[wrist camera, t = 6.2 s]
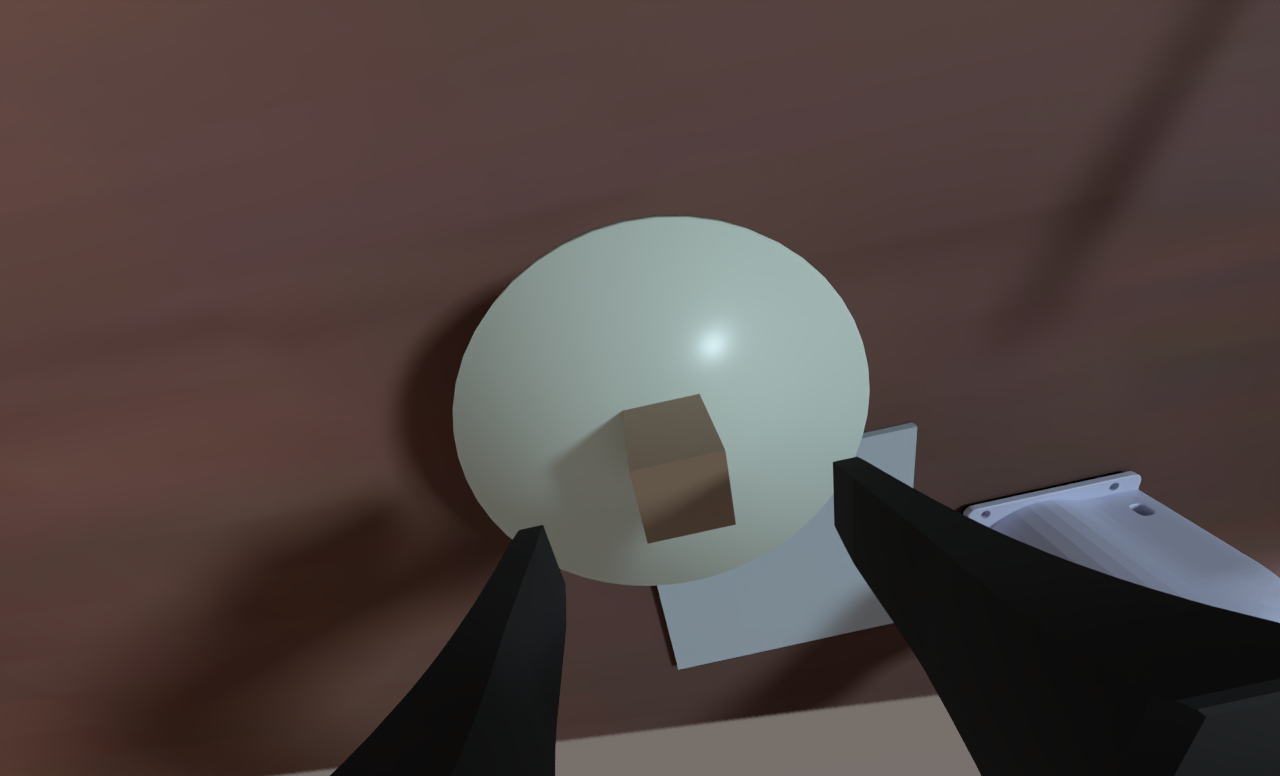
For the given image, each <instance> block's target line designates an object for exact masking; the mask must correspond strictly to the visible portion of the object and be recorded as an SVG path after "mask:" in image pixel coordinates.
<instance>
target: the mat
mask: <svg viewBox="0 0 1280 776" xmlns="http://www.w3.org/2000/svg"><path fill="white" fill-rule="evenodd" d="M916 437H917V426H916V425H915V424H914V423H907V424H902V425H898V426H893V427H889V428H884V429H880V430H875V431H870V432H866V433H863V436H862V439H861V442H860V445H859V447H858V450H857V453H856V455H855V457H859V458H861V459H863V460H865V461H867V462H868V463H870V464H872V465H874V466H875V467H877V468H879V469H881V470H882V471H884V472H886V473H888V474H889V475H891V476H893V477H894V478H896V479H898V480H900V481H901V482H903V483H905V484H907V485H908V486H910V487H912V488H913V481H914V466H915V452H916ZM657 588H658V591H659V595H660V599H661V603H662V607H663V611H664V615H665V619H666V623H667V627H668V631H669V634H670V638H671V642H672V646H673V650H674V654H675V658H676V662H677V666H678V670H679V669H683V668H688V667H693V666H697V665H702V664H707V663H711V662H716V661H720V660H725V659H730V658H734V657H739V656H743V655H748V654H753V653H757V652H762V651H767V650H771V649H776V648H780V647H785V646H790V645H794V644H799V643H803V642H808V641H813V640H817V639H822V638H827V637H831V636H836V635H840V634H845V633H850V632H854V631H859V630H864V629H868V628H873V627H877V626H882V625H887V624H891V623H893V621H892V620H891V618H890V617H889V615H888V614H887V612H886V611H885V609H884V608H883V606H882V605H881V603H880V602H879V601H878V599H877V598H876V596H875V595H874V593H873V592H872V590H871V589H870V587H869V586H868V584H867V583H866V581H865V580H864V578H863V577H862V575H861V574H860V572H859V571H858V569H857V568H856V566H855V565H854V563H853V561H852V559H851V558H850V556H849V554H848V552H847V550H846V548H845V546H844V544H843V542H842V540H841V538H840V536H839V534H838V532H837V530H836V528H835V526H834V494H833V495H832V497H831V498H830V499H829V500H828V501H827V503H826V504H825V505H824V506H823V507H822V508H821V510H820V511H819V512H818V513H817V514H816V515H815V516H814V517H813V518H812V519H811V520H810V521H809V522H808V523H807V524H806V525H805V526H803V527H802V528H801V529H800V530H799V531H798V532H797V533H795V534H794V535H793V536H791V537H790V538H789V539H787V540H786V541H785V542H783V543H782V544H781V545H779V546H777V547H776V548H774V549H773V550H771V551H769V552H768V553H766V554H764V555H763V556H761V557H759V558H757V559H755V560H753V561H751V562H749V563H747V564H745V565H742V566H740V567H738V568H735V569H732V570H730V571H727V572H724V573H722V574H719V575H715V576H711V577H708V578H704V579H700V580H696V581H690V582H684V583H678V584H670V585H657Z"/></svg>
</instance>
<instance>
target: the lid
mask: <svg viewBox="0 0 1280 776" xmlns="http://www.w3.org/2000/svg"><path fill="white" fill-rule="evenodd" d="M869 392H870V390H869V373H868V364H867V359H866V355H865V350H864V345H863V342H862V339H861V337H860V334H859V332H858V329H857V326H856V324H855V321H854V319H853V317H852V316H851V314H850V312H849V310H848V309H847V307H846V305H845V304H844V302H843V300H842V298H841V297H840V296H839V295H838V293H837V292H836V291H835V290H834V288H833V287H832V286H831V285H830V284H829V282H828V281H827V280H826V279H825V277H824V276H822V275H821V274H820V273H819V272H818V271H817V270H816V269H815V268H813V267H812V266H811V265H810V264H809V263H808V262H807V261H806V260H804V259H803V258H802V257H800V256H799V255H797V254H795V253H794V252H792V251H791V250H789V249H788V248H786V247H785V246H783V245H781V244H780V243H778V242H776V241H774V240H772V239H769V238H767V237H765V236H763V235H760V234H758V233H756V232H754V231H752V230H749V229H747V228H745V227H742V226H738V225H735V224H731V223H728V222H724V221H721V220H717V219H711V218H704V217H696V216H689V215H653V216H646V217H639V218H633V219H626V220H621V221H618V222H614V223H611V224H607V225H604V226H601V227H597V228H594V229H591V230H589V231H587V232H584V233H582V234H580V235H578V236H576V237H573V238H571V239H569V240H567V241H565V242H563V243H561V244H560V245H558V246H556V247H555V248H553V249H552V250H550V251H548V252H547V253H545V254H544V255H542V256H541V257H539V258H538V259H536V260H535V261H534V262H533V263H532V264H530V265H529V266H528V267H527V268H526V269H525V270H523V271H522V272H521V273H520V274H519V275H517V276H516V277H515V278H514V279H513V280H512V282H511V283H510V284H509V285H508V286H507V287H506V288H505V289H504V291H503V292H502V293H501V294H500V295H499V296H498V297H497V298H496V300H495V301H494V303H493V304H492V306H491V307H490V309H489V310H488V312H487V313H486V315H485V316H484V318H483V319H482V321H481V322H480V324H479V325H478V327H477V329H476V330H475V332H474V334H473V336H472V338H471V341H470V343H469V345H468V347H467V349H466V351H465V354H464V356H463V359H462V362H461V366H460V369H459V373H458V377H457V380H456V385H455V393H454V401H453V432H454V438H455V443H456V449H457V454H458V458H459V461H460V464H461V467H462V469H463V472H464V475H465V478H466V480H467V482H468V484H469V486H470V488H471V490H472V491H473V493H474V495H475V497H476V499H477V501H478V502H479V503H480V505H481V506H482V507H483V509H484V510H485V511H486V513H487V514H488V516H489V517H490V518H491V519H492V520H493V521H494V523H495V524H496V525H497V526H498V527H499V528H500V529H501V530H502V531H503V532H504V533H505V534H506V535H507V536H508V537H510V538H511V539H512V540H513V538H514V537H515V535H516V533H517V532H518V531H519V530H521V529H526V528H531V527H535V526H540V525H543V526H544V529H545V531H546V534H547V537H548V539H549V542H550V545H551V547H552V550H553V553H554V555H555V558H556V561H557V563H558V566H559V568H560V569H562V570H564V571H567V572H570V573H573V574H576V575H579V576H582V577H585V578H589V579H593V580H598V581H602V582H607V583H615V584H623V585H639V586H656V585H670V584H678V583H684V582H690V581H696V580H700V579H704V578H708V577H711V576H715V575H719V574H722V573H724V572H727V571H730V570H732V569H735V568H738V567H740V566H742V565H745V564H747V563H749V562H751V561H753V560H755V559H757V558H759V557H761V556H763V555H764V554H766V553H768V552H769V551H771V550H773V549H774V548H776V547H777V546H779V545H781V544H782V543H783V542H785V541H786V540H787V539H789V538H790V537H791V536H793V535H794V534H795V533H797V532H798V531H799V530H800V529H801V528H802V527H803V526H805V525H806V524H807V523H808V522H809V521H810V520H811V519H812V518H813V517H814V516H815V515H816V514H817V513H818V512H819V511H820V510H821V508H822V507H823V506H824V505H825V504H826V503H827V501H828V500H829V499H830V498H831V497H832V495H833V494H834V491H833V462H835V461H839V460H844V459H848V458H853V457H855V455H856V453H857V450H858V447H859V445H860V442H861V439H862V436H863V432H864V427H865V423H866V419H867V414H868V403H869Z"/></svg>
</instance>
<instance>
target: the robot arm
mask: <svg viewBox="0 0 1280 776" xmlns="http://www.w3.org/2000/svg"><path fill="white" fill-rule="evenodd" d="M1140 482H1141V477H1140V475H1138V474H1136V473H1134V472H1132V471H1128V472H1123V473H1119V474H1114V475H1110V476H1105V477H1100V478H1096V479H1091V480H1087V481H1082V482H1077V483H1073V484H1068V485H1064V486H1059V487H1054V488H1050V489H1045V490H1041V491H1036V492H1031V493H1027V494H1022V495H1018V496H1013V497H1008V498H1004V499H999V500H995V501H990V502H985V503H981V504H976V505H972V506H969V507H968V508H966V509H965V511H964V513H963V515H962V514H960V513H958V512H957V511H955V510H953V509H951V508H949V507H947V506H945V505H943V504H941V503H939V502H937V501H936V500H934V499H932V498H930V497H928V496H926V495H925V494H923V493H921V492H919V491H917V490H916V489H914V488H912V487H910V486H908V485H907V484H905V483H903V482H901V481H900V480H898V479H896V478H894V477H893V476H891V475H889V474H888V473H886V472H884V471H882V470H881V469H879V468H877V467H875V466H874V465H872V464H870V463H868V462H867V461H865V460H863V459H861V458H859V457H853V458H848V459H844V460H839V461H835V462H833V491H834V526H835V528H836V530H837V532H838V534H839V536H840V538H841V540H842V542H843V544H844V546H845V548H846V550H847V552H848V554H849V556H850V558H851V559H852V561H853V563H854V565H855V566H856V568H857V569H858V571H859V572H860V574H861V575H862V577H863V578H864V580H865V581H866V583H867V584H868V586H869V587H870V589H871V590H872V592H873V593H874V595H875V596H876V598H877V599H878V601H879V602H880V603H881V605H882V606H883V608H884V609H885V611H886V612H887V614H888V615H889V617H890V618H891V620H892V621H893V623H894V624H895V625H896V627H897V628H898V630H899V631H900V633H901V634H902V636H903V637H904V639H905V640H906V642H907V643H908V645H909V646H910V647H911V649H912V651H913V652H914V654H915V655H916V657H917V659H918V660H919V662H920V663H921V665H922V667H923V668H924V670H925V672H926V673H927V675H928V677H929V679H930V681H931V682H932V684H933V686H934V688H935V690H936V691H937V693H938V695H939V697H940V698H941V700H942V702H943V704H944V706H945V708H946V709H947V711H948V713H949V715H950V717H951V718H952V720H953V722H954V724H955V726H956V728H957V730H958V732H959V734H960V736H961V737H962V739H963V741H964V743H965V745H966V747H967V749H968V751H969V752H970V754H971V756H972V758H973V760H974V762H975V764H976V766H977V768H978V770H979V772H980V774H981V776H1280V578H1279V577H1277V576H1276V575H1275V574H1273V573H1272V572H1271V571H1270V570H1268V569H1267V568H1265V567H1264V566H1262V565H1261V564H1259V563H1258V562H1256V561H1254V560H1253V559H1251V558H1250V557H1248V556H1246V555H1245V554H1243V553H1241V552H1240V551H1238V550H1236V549H1235V548H1233V547H1231V546H1230V545H1228V544H1227V543H1225V542H1223V541H1222V540H1220V539H1218V538H1217V537H1215V536H1213V535H1212V534H1210V533H1209V532H1207V531H1205V530H1204V529H1202V528H1200V527H1199V526H1197V525H1195V524H1194V523H1192V522H1190V521H1189V520H1187V519H1186V518H1184V517H1182V516H1181V515H1179V514H1177V513H1176V512H1174V511H1172V510H1171V509H1169V508H1168V507H1166V506H1164V505H1163V504H1161V503H1159V502H1158V501H1156V500H1154V499H1153V498H1151V497H1150V496H1148V495H1146V494H1145V493H1143V492H1141V491H1140V490H1138V488H1139V485H1140ZM565 632H566V593H565V582H564V579H563V577H562V574H561V571H560V569H559V566H558V563H557V561H556V558H555V555H554V553H553V550H552V547H551V545H550V542H549V539H548V537H547V534H546V531H545V529H544V526H543V525H540V526H535V527H531V528H526V529H521V530H519V531H518V532H517V533H516V535H515V537H514V538H513V540H512V542H511V543H510V545H509V547H508V548H507V550H506V552H505V554H504V555H503V557H502V559H501V561H500V562H499V564H498V566H497V567H496V569H495V571H494V572H493V574H492V576H491V577H490V579H489V581H488V582H487V584H486V585H485V587H484V589H483V590H482V592H481V593H480V595H479V597H478V598H477V600H476V601H475V603H474V605H473V606H472V608H471V609H470V611H469V612H468V614H467V615H466V617H465V618H464V620H463V621H462V622H461V624H460V625H459V627H458V628H457V630H456V631H455V633H454V634H453V636H452V637H451V639H450V640H449V641H448V643H447V644H446V646H445V647H444V648H443V650H442V651H441V652H440V654H439V655H438V656H437V658H436V659H435V660H434V662H433V663H432V664H431V666H430V667H429V668H428V669H427V671H426V672H425V673H424V674H423V676H422V677H421V678H420V679H419V681H418V682H417V683H416V684H415V685H414V687H413V688H412V689H411V690H410V691H409V693H408V694H407V695H406V696H405V697H404V698H403V699H402V700H401V702H400V703H399V704H398V705H397V706H396V707H395V708H394V709H393V710H392V712H391V713H390V714H389V715H388V716H387V717H386V718H385V719H384V720H383V722H382V723H381V724H380V725H379V726H378V727H377V728H376V729H375V730H374V732H373V733H372V734H371V735H370V736H369V737H368V738H367V739H366V740H365V741H364V742H363V743H362V744H361V745H360V746H359V747H358V748H357V749H356V750H355V751H354V752H353V753H352V754H351V755H350V757H349V758H348V759H347V760H346V761H345V762H344V763H343V764H342V765H341V766H339V767H338V768H337V769H336V770H335V771H334V772H333V773H332V774H331V775H330V776H555V743H556V727H557V715H558V705H559V695H560V685H561V675H562V665H563V654H564V644H565Z"/></svg>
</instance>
